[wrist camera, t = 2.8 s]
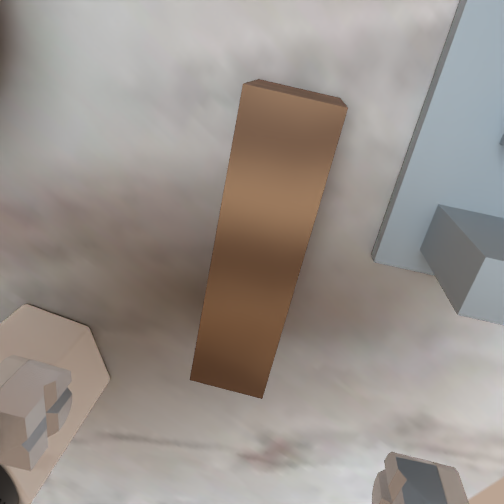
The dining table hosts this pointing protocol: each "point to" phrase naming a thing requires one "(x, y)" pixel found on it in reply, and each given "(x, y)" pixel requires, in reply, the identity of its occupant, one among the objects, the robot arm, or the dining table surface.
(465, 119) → the cradle stand
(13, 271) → the dining table surface
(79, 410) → the jar
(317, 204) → the walnut bar
